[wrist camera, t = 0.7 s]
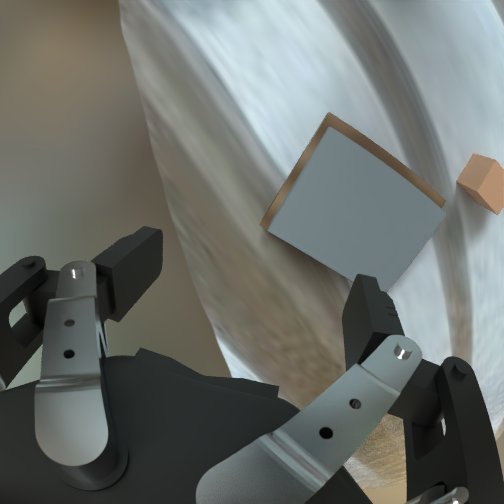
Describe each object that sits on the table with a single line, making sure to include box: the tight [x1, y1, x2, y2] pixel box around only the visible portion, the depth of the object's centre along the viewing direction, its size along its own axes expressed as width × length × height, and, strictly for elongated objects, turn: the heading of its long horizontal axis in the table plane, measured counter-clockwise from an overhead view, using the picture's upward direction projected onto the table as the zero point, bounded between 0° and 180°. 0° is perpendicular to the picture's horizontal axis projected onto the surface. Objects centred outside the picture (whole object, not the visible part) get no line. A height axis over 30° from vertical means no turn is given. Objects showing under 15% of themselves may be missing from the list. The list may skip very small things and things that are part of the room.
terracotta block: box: [457, 154, 504, 215], centre depth 28 cm, size 5×5×6 cm
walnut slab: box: [260, 112, 446, 281], centre depth 35 cm, size 16×18×4 cm
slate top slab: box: [268, 127, 447, 292], centre depth 32 cm, size 13×16×4 cm
